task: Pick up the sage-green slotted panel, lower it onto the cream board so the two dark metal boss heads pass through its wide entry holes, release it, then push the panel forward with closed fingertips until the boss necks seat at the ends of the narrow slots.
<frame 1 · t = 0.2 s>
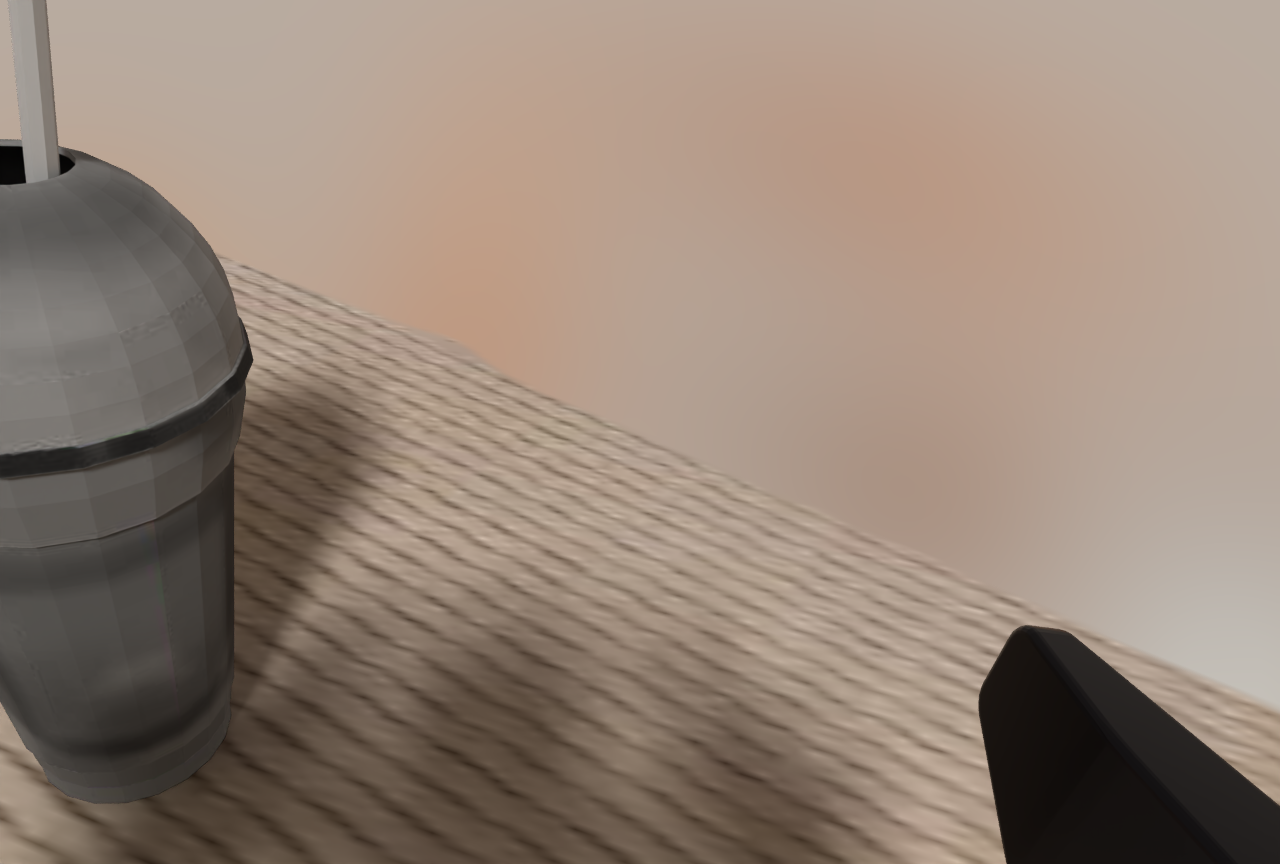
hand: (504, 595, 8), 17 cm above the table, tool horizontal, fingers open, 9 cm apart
beverage cup: (140, 731, 24), on the table
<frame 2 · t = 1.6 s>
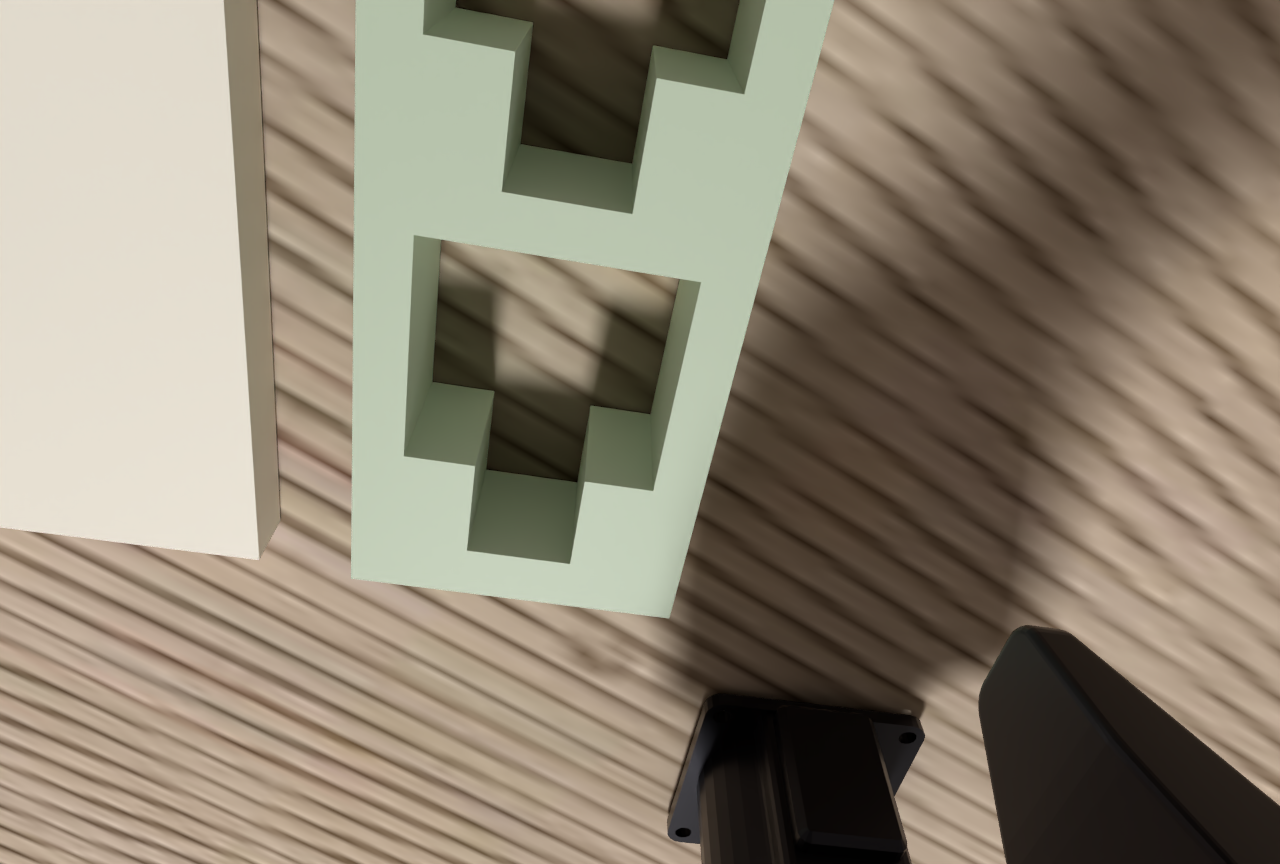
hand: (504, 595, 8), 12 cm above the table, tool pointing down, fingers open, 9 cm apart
panel: (573, 179, 18), on the table
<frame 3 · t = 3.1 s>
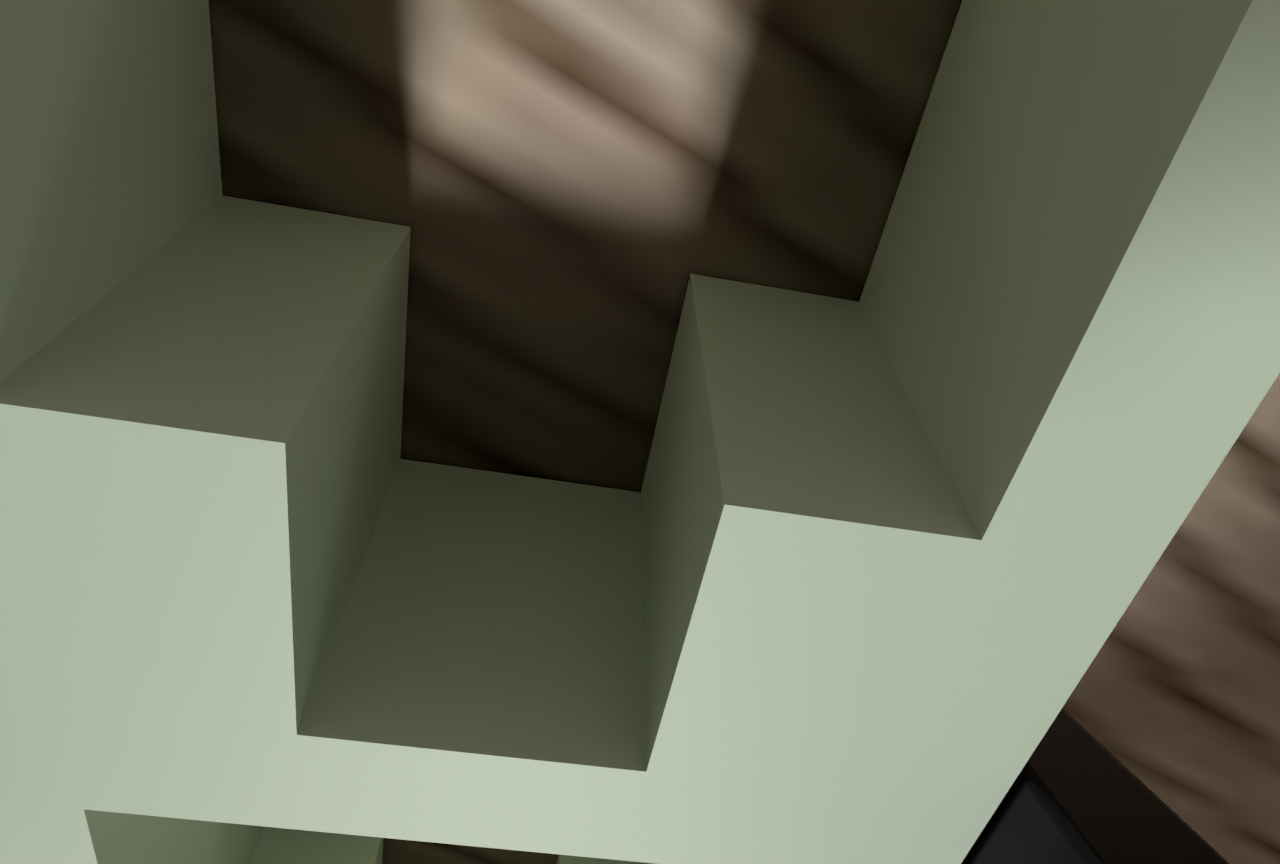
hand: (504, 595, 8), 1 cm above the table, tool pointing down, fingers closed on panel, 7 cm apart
panel: (516, 518, 8), on the table, touching gripper
when the fingers open (3 cm above the table, at t = 7.3 s): panel stays where it is, resting on board.
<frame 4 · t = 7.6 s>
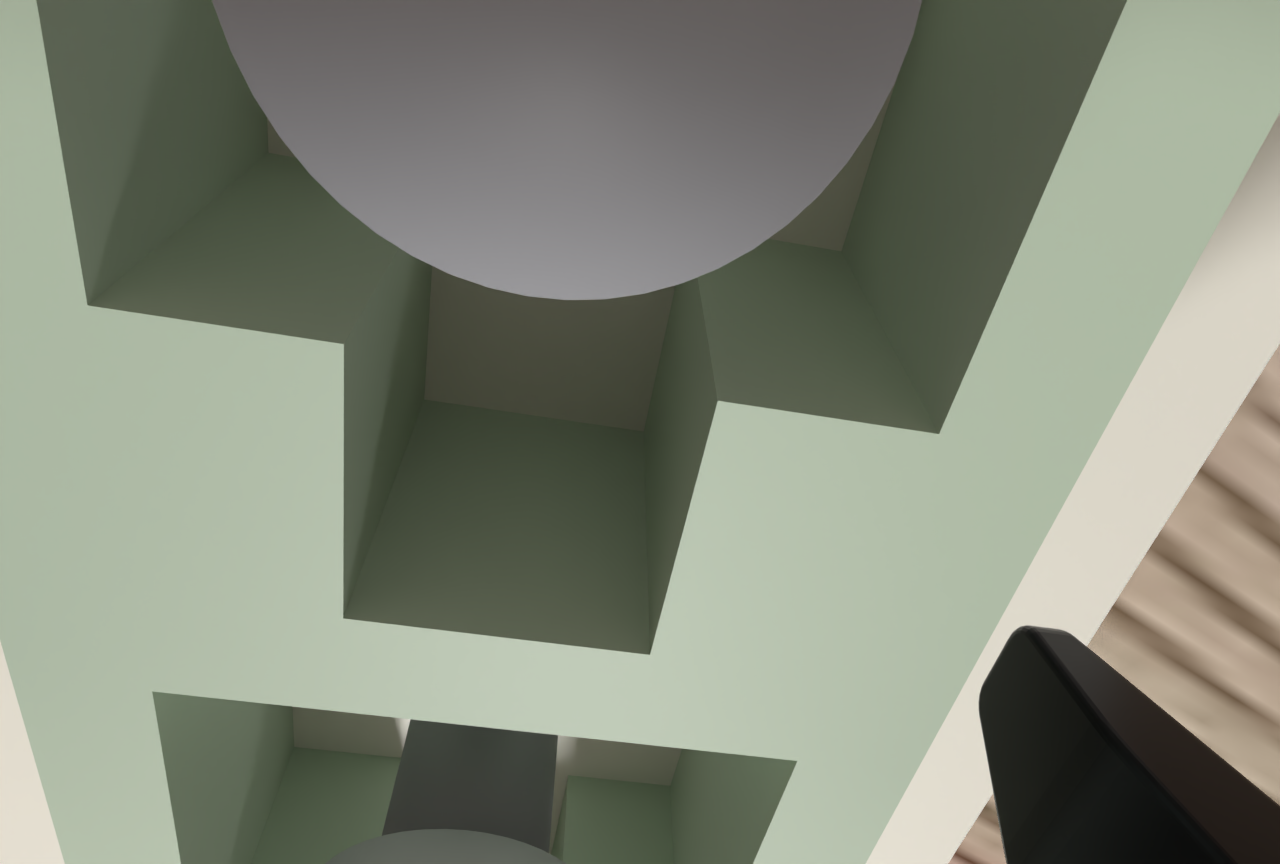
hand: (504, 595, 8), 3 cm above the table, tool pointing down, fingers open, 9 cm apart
board: (552, 268, 10), on the table
panel: (529, 456, 9), point 1 cm above the table, touching board
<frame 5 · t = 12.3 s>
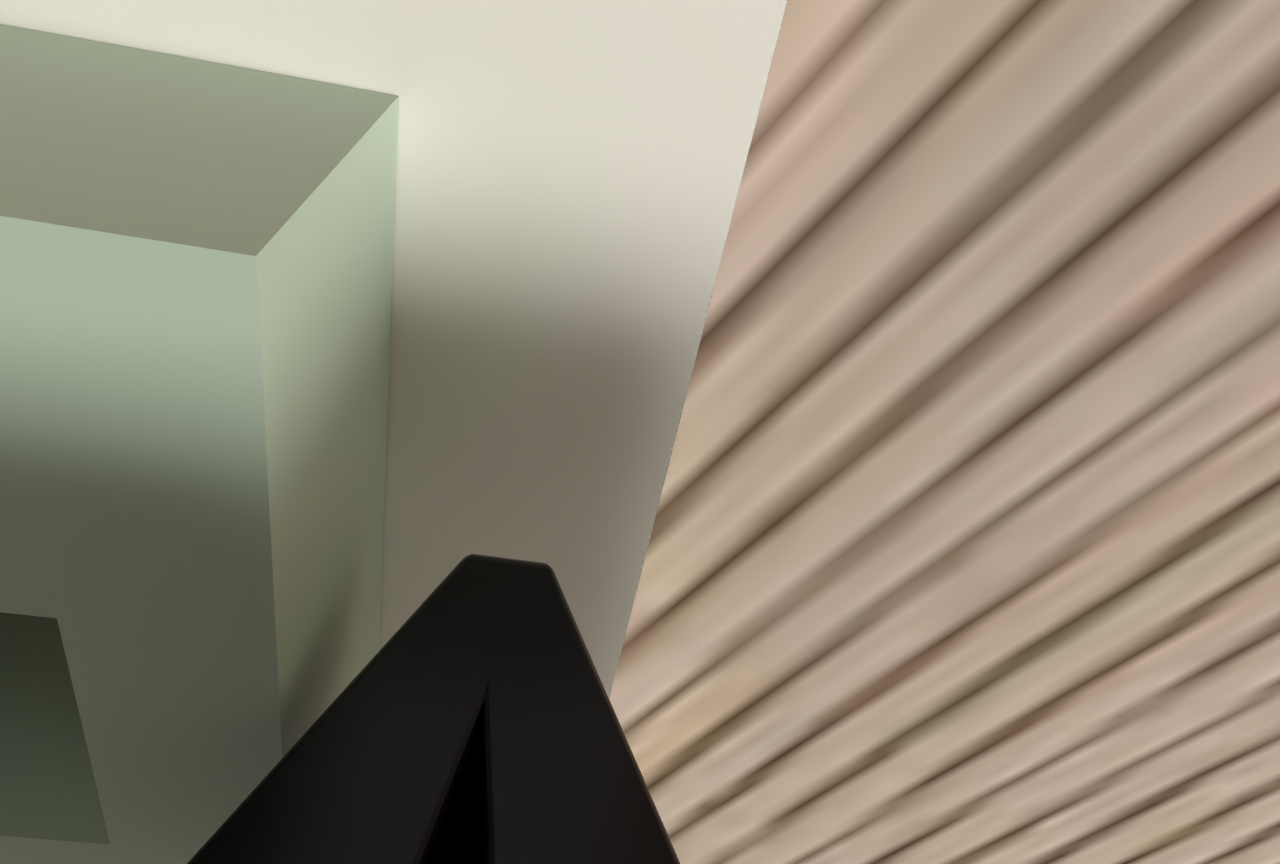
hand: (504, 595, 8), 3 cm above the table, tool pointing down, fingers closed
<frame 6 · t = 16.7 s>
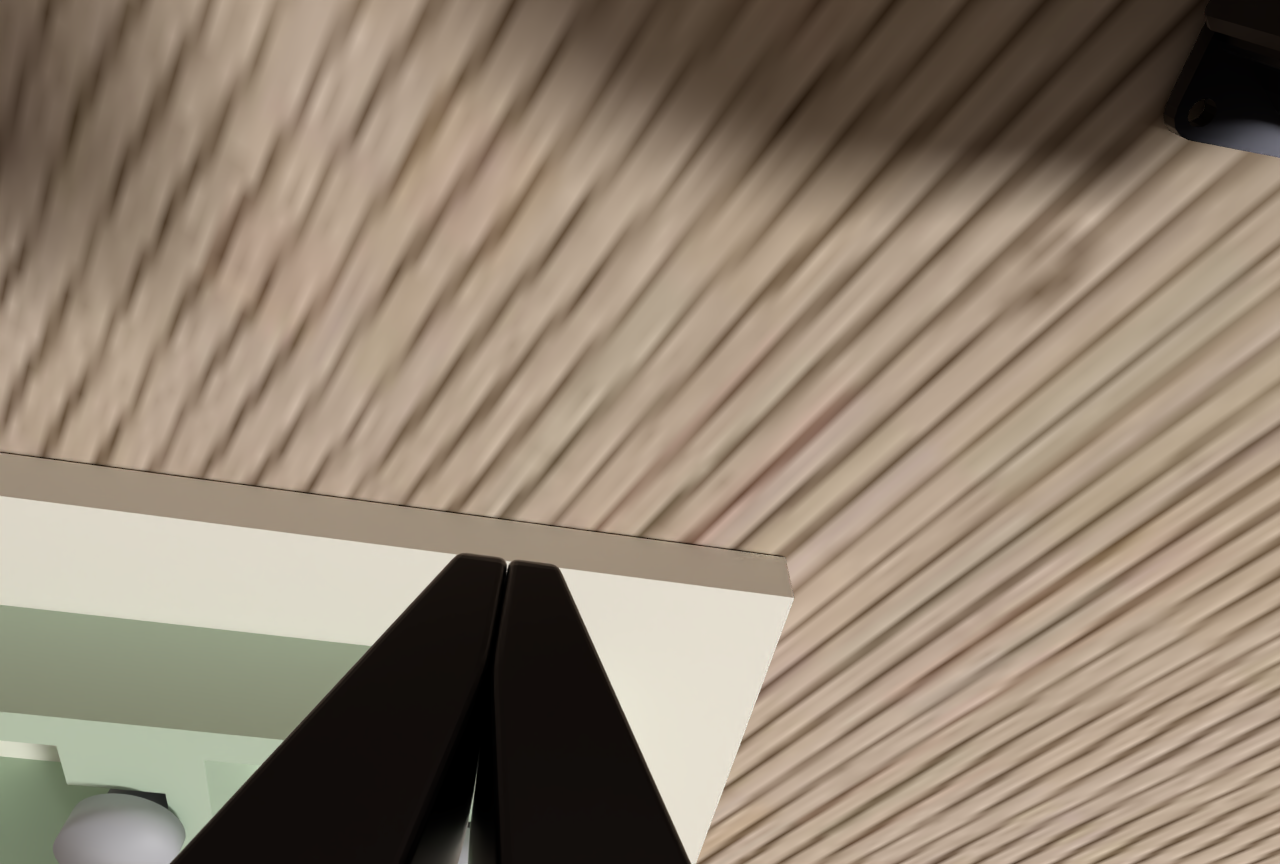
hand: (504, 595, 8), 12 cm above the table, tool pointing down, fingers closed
board: (333, 689, 26), on the table
panel: (237, 722, 24), point 1 cm above the table, touching board
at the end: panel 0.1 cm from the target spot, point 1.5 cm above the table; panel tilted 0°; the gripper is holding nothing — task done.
